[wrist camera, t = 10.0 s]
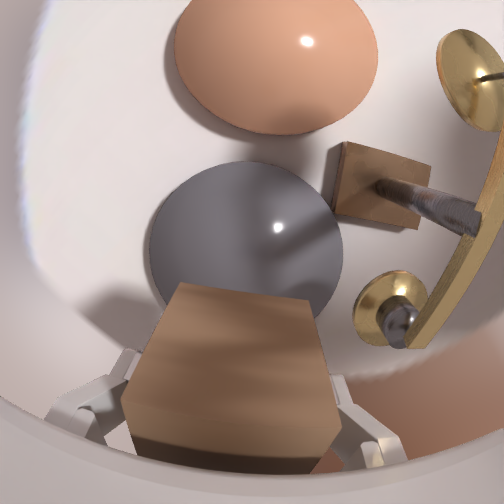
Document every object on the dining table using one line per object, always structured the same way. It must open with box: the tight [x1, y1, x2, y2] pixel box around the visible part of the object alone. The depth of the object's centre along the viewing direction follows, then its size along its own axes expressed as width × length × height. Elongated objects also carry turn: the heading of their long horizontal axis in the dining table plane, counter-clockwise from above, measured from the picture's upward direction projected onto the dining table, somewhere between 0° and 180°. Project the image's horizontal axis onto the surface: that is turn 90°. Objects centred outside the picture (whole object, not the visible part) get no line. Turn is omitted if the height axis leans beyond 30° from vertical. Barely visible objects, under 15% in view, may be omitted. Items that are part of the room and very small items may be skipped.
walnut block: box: [120, 282, 342, 475], centre depth 9 cm, size 5×5×6 cm
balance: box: [331, 29, 504, 349], centre depth 13 cm, size 7×18×14 cm, turn 172°
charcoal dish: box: [149, 161, 343, 318], centre depth 21 cm, size 14×14×1 cm
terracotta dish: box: [174, 0, 378, 135], centre depth 15 cm, size 14×14×1 cm
